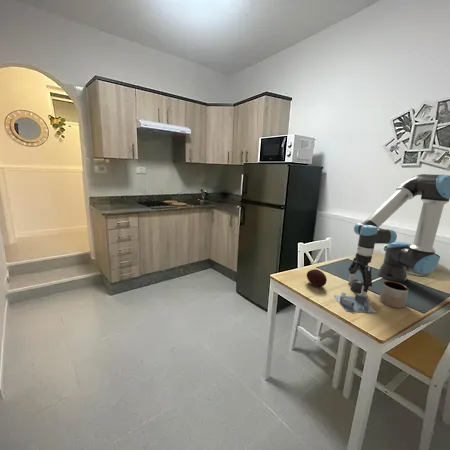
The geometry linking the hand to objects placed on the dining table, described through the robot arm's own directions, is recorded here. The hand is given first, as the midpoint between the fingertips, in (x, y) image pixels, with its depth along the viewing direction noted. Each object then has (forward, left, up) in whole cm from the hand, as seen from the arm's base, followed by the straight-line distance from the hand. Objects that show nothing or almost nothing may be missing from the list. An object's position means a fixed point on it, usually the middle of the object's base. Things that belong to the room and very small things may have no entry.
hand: (356, 290), depth 132 cm
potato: (+22, -3, 0) cm, 22 cm away
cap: (0, 0, 0) cm, 0 cm away
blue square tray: (+9, +15, 0) cm, 17 cm away
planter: (-12, +11, 0) cm, 16 cm away
